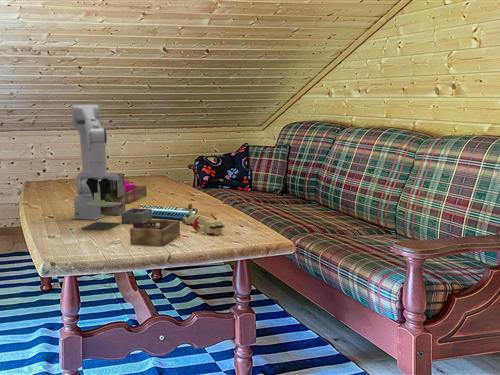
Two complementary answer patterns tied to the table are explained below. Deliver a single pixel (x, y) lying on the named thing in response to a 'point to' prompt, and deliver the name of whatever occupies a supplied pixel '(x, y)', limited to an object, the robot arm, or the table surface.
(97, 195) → the lid
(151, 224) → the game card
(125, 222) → the tub
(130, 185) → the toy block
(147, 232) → the holders
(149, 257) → the table surface
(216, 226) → the cat figure
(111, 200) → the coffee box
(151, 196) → the table surface
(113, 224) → the mat
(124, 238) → the table surface
